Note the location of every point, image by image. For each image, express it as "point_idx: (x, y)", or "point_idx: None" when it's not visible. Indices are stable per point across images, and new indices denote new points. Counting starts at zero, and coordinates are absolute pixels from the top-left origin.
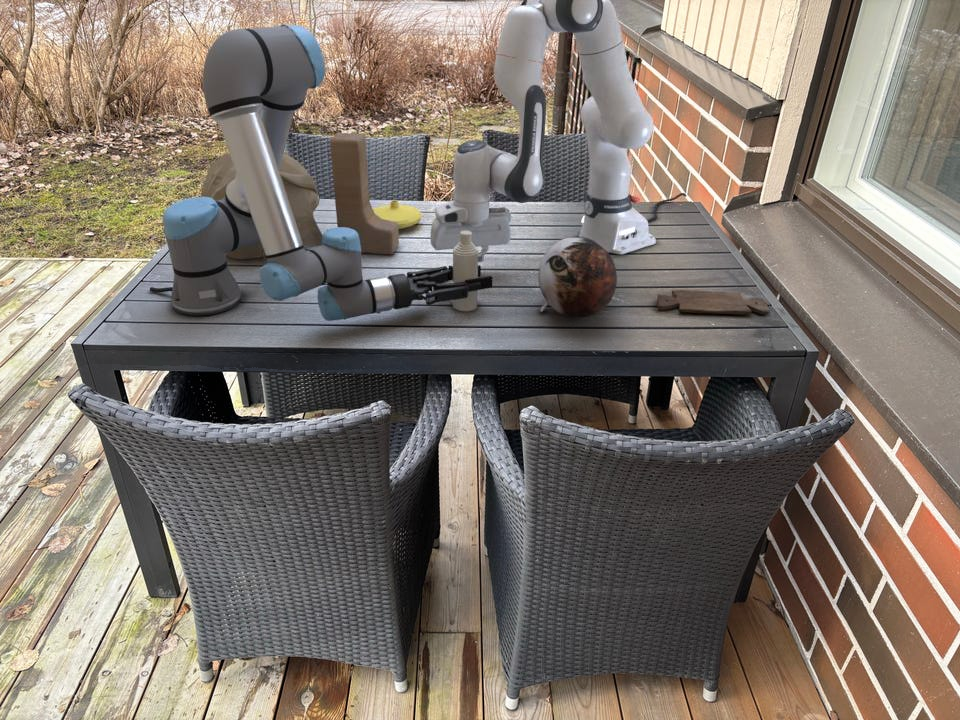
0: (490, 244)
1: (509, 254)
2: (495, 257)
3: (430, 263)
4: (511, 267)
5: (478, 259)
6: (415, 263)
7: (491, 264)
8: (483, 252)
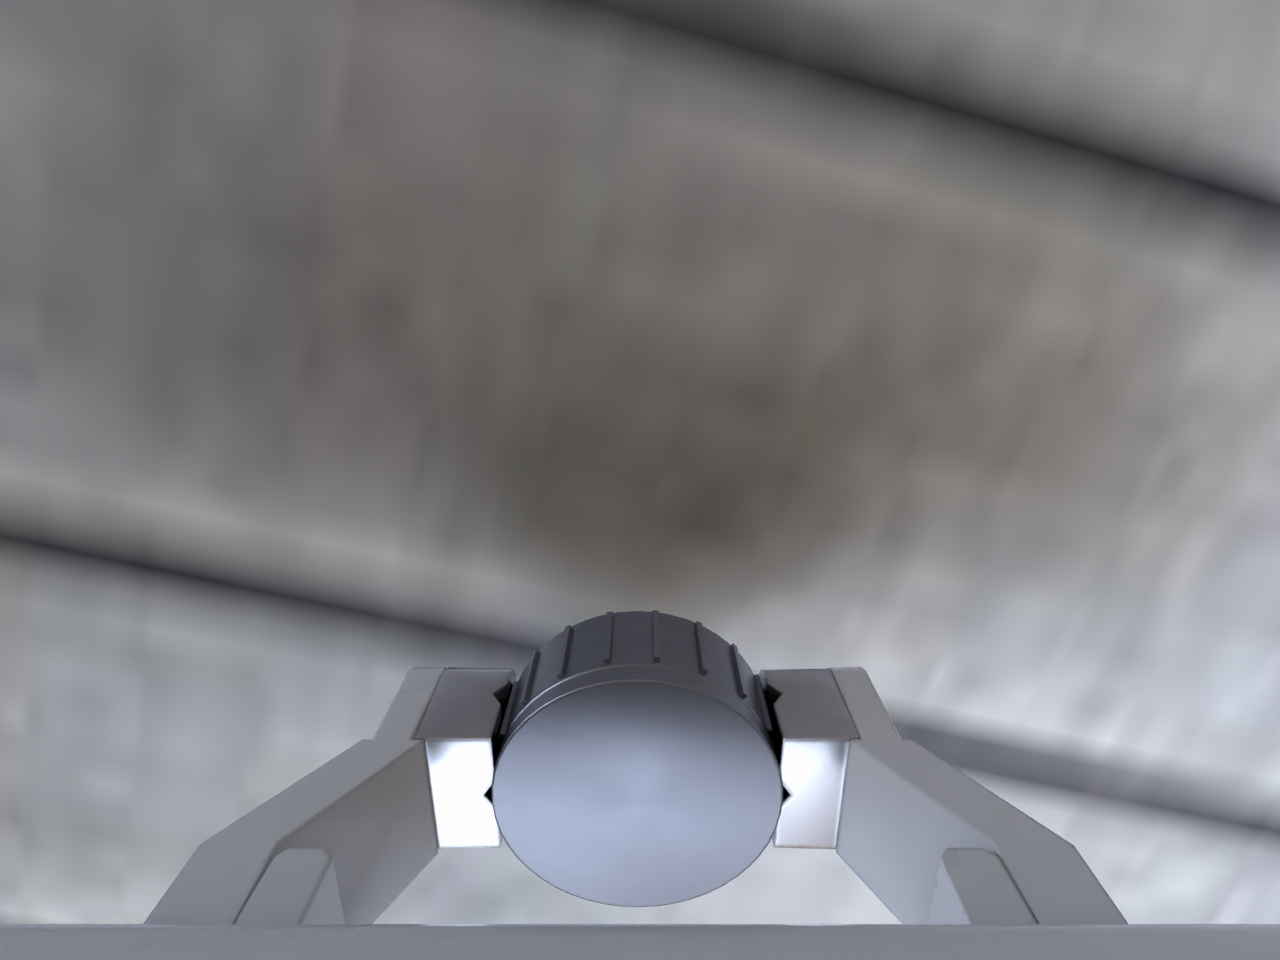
0: (14, 946)
1: None
2: None
3: None
4: (36, 609)
5: (500, 703)
6: None
7: (310, 747)
8: (356, 794)
